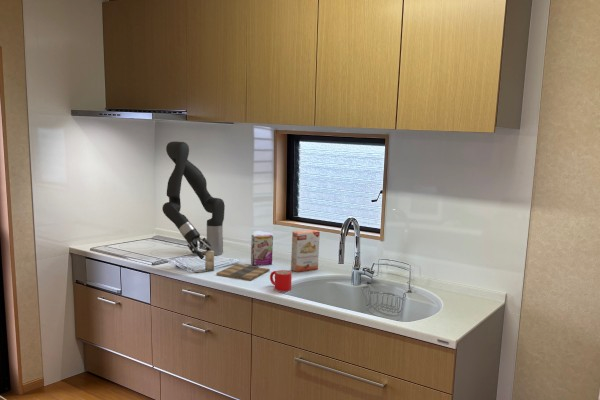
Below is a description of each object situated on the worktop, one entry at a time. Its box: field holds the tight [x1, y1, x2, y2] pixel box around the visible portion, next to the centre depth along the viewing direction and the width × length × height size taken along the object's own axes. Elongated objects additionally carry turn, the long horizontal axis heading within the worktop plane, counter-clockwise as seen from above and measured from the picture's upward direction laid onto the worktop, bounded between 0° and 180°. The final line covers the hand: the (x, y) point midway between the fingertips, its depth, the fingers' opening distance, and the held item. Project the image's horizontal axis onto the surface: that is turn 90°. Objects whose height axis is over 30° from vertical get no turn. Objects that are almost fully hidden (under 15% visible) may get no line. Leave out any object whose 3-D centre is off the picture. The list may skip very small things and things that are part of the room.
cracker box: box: [290, 229, 321, 273], centre depth 284 cm, size 14×6×21 cm, turn 121°
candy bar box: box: [250, 233, 274, 267], centre depth 292 cm, size 11×5×16 cm, turn 110°
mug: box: [269, 269, 293, 292], centre depth 252 cm, size 8×12×8 cm, turn 54°
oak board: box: [216, 263, 270, 282], centre depth 275 cm, size 20×20×1 cm
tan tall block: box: [204, 250, 215, 272], centre depth 278 cm, size 4×4×10 cm
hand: (207, 256), depth 278 cm, fingers open, 8 cm apart
